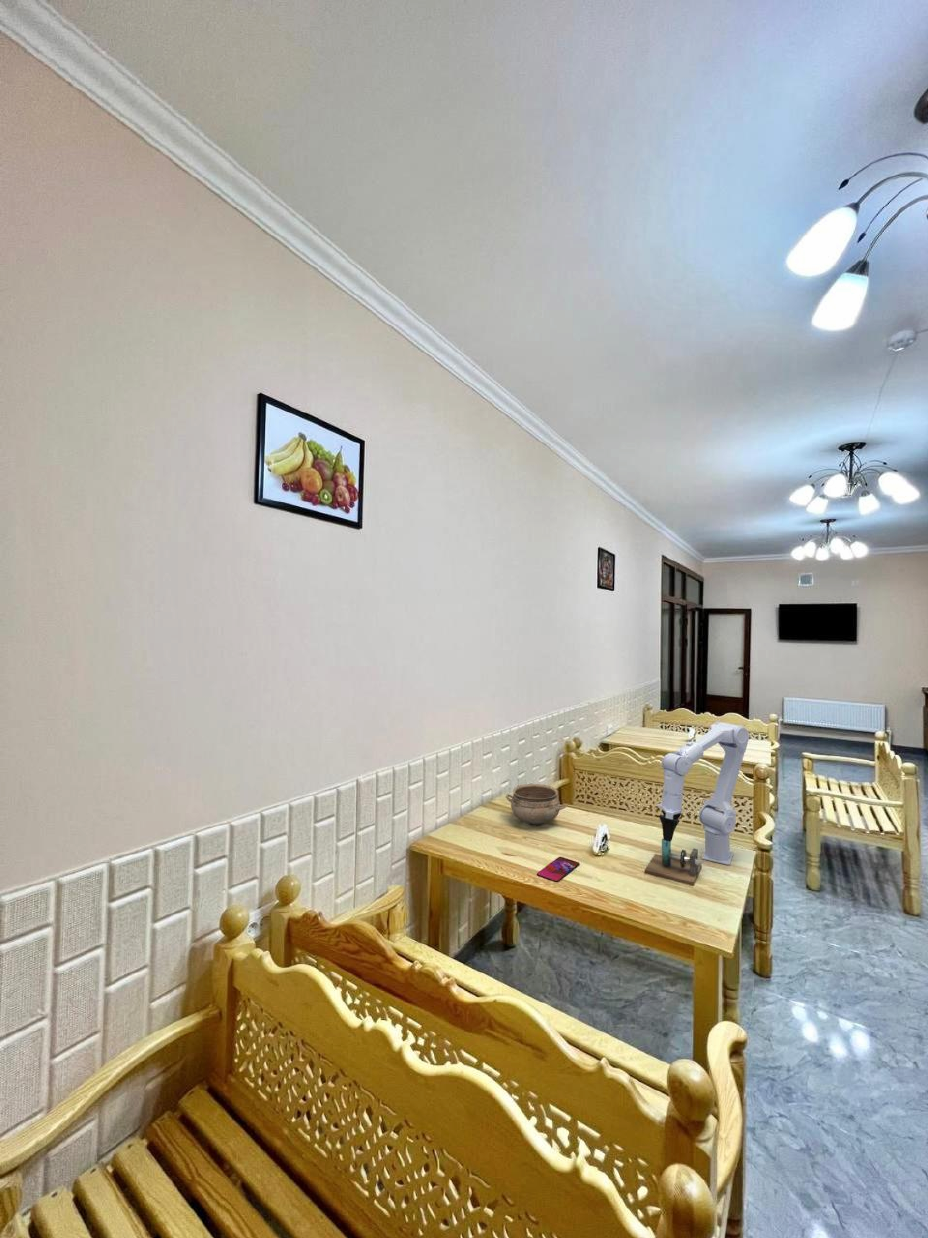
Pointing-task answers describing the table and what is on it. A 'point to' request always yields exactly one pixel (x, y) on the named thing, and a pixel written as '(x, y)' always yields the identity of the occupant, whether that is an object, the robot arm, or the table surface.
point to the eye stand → (675, 869)
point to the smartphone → (558, 869)
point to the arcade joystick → (674, 855)
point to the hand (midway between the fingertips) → (668, 837)
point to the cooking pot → (535, 803)
